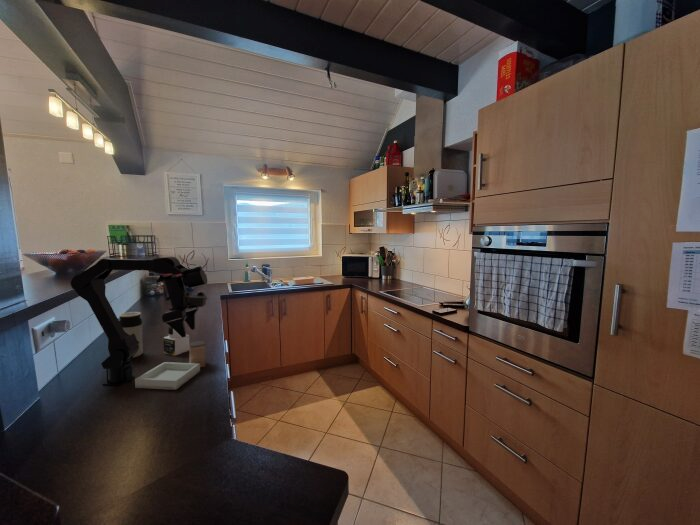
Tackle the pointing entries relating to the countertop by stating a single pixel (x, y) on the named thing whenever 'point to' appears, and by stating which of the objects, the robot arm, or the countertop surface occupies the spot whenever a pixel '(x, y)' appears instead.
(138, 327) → the travel mug
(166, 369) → the tray
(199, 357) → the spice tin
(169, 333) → the medicine bottle
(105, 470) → the countertop surface
